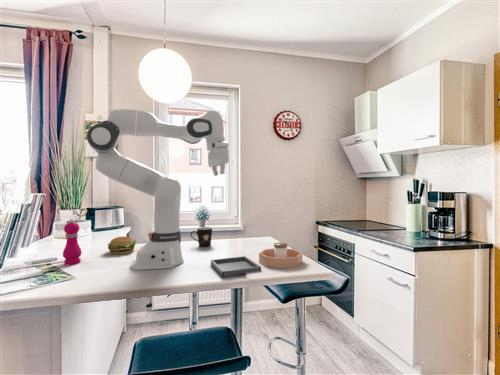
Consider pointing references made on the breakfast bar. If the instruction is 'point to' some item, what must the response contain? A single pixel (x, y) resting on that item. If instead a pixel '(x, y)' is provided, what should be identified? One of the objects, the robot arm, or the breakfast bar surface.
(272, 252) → the bowl
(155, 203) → the robot arm
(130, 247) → the food
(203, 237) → the coffee mug
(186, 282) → the breakfast bar surface
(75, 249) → the pepper mill
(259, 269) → the tray
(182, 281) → the breakfast bar surface
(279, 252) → the spice jar
